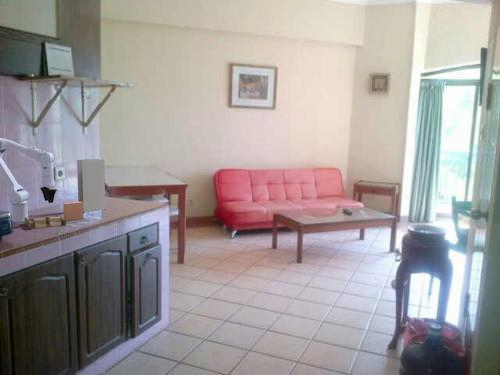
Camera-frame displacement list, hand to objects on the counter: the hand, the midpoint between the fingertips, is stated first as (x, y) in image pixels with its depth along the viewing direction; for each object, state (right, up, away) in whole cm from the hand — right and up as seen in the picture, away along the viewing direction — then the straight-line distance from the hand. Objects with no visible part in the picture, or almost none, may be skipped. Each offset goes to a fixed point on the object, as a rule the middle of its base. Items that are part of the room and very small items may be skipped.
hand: (48, 201), depth 236 cm
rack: (+2, -12, -8) cm, 14 cm away
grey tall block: (+11, -6, +32) cm, 34 cm away
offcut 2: (+7, -12, -9) cm, 16 cm away
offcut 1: (+2, -12, -13) cm, 18 cm away
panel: (+11, -10, +4) cm, 15 cm away
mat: (+11, -10, +4) cm, 16 cm away
